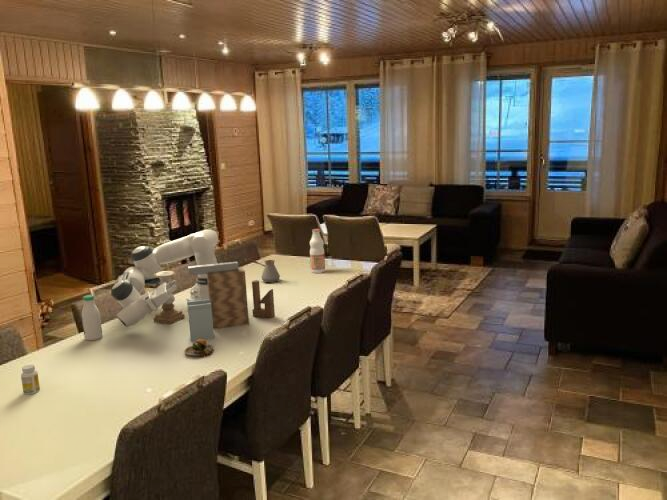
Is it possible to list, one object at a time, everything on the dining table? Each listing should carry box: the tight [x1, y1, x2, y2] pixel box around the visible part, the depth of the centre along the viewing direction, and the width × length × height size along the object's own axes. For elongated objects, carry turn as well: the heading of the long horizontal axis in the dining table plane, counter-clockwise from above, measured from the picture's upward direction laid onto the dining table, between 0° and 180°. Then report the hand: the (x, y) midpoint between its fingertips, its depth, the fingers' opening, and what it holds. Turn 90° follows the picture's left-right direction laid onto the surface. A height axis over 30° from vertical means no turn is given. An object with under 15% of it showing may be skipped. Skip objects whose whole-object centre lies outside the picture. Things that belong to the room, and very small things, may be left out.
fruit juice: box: [309, 228, 326, 274], centre depth 366 cm, size 9×9×28 cm
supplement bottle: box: [20, 364, 41, 396], centre depth 205 cm, size 5×5×10 cm
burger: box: [184, 335, 215, 358], centre depth 236 cm, size 12×12×8 cm
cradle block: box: [186, 299, 215, 342], centre depth 254 cm, size 10×8×16 cm
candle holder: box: [152, 270, 186, 325], centre depth 280 cm, size 11×11×24 cm
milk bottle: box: [81, 294, 103, 341], centre depth 258 cm, size 8×8×20 cm
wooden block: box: [251, 279, 276, 319], centre depth 279 cm, size 4×11×18 cm, turn 67°
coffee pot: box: [244, 257, 281, 283], centre depth 349 cm, size 21×12×15 cm, turn 81°
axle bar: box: [187, 261, 240, 276], centre depth 265 cm, size 23×4×4 cm, turn 106°
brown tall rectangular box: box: [207, 266, 250, 330], centre depth 270 cm, size 17×10×26 cm, turn 106°
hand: (176, 283), depth 261 cm, fingers open, 8 cm apart
